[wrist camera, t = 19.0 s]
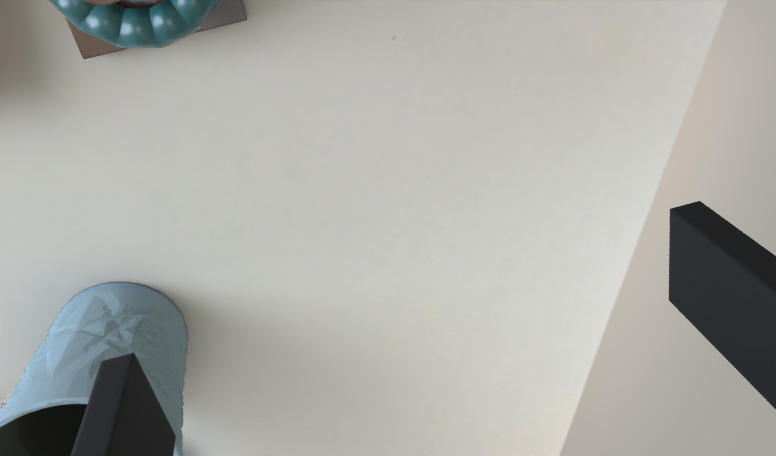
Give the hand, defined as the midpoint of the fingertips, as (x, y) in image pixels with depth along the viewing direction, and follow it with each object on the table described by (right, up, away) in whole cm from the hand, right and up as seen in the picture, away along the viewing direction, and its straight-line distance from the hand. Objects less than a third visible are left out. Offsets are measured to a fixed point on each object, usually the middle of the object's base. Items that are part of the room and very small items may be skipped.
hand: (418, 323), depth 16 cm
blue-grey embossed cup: (-19, -5, +30) cm, 36 cm away
